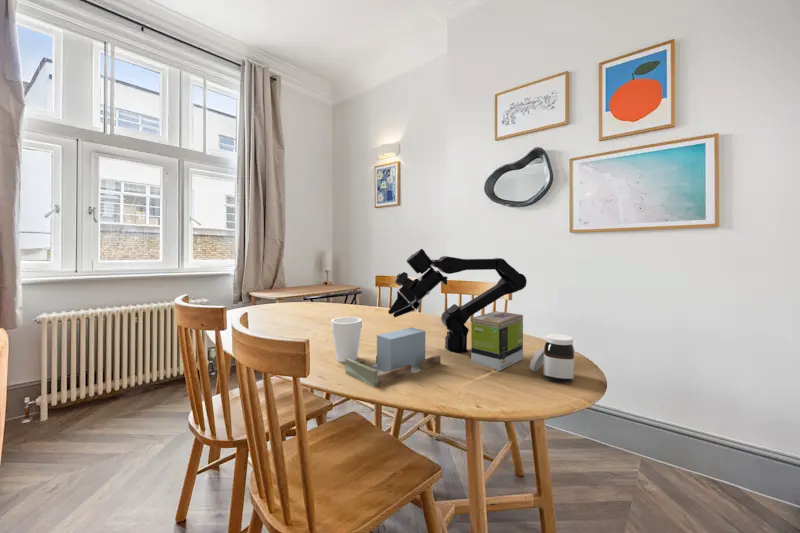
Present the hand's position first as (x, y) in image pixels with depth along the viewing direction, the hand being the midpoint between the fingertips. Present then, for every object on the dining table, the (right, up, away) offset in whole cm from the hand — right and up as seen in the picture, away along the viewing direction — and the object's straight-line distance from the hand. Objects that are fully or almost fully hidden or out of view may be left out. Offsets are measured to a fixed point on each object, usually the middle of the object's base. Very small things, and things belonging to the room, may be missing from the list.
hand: (391, 314), depth 119 cm
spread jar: (+45, -15, -20) cm, 51 cm away
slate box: (+3, -13, -14) cm, 19 cm away
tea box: (+33, -14, -8) cm, 37 cm away
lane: (+1, -14, -15) cm, 21 cm away
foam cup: (-14, -14, -7) cm, 21 cm away
